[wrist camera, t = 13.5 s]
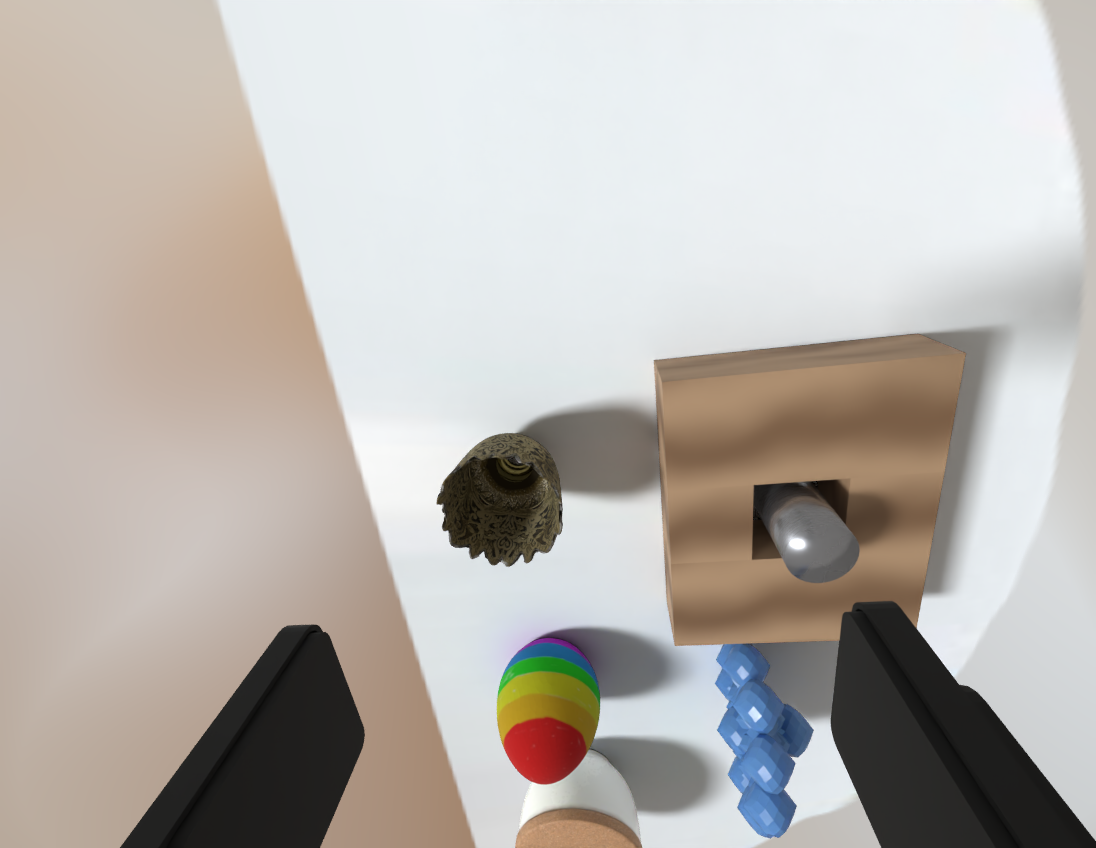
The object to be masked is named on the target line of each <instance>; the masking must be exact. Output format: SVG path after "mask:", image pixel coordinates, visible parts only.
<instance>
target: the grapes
mask: <svg viewBox="0 0 1096 848" xmlns="http://www.w3.org/2000/svg"><path fill="white" fill-rule="evenodd" d="M716 660H717V662H718V663H719V664H720V665H721V667H722V670H721V672H720V674H719V676H718V678H717V681H716V683H715V684H716V685H717V687H718V688H719V689H720V691H721V692H722V693H723V695H724V696H725V697H726V698H727V699H728V700H729V703H728V705H727V708H728V710H727V711H726V713H725V714H724V716H723V719H722V721H721V723H720V725H719V727H718V729H717V731H718V732H719V733H720V735H721V736H722V737H723V739H724V740H725V741H726V743H727V744H728V745H729V747H730V748H731V749H732V750H733V752H734V753H735V755H736V757H735V759H734V761H733V764H732V766H731V768H730V771H729V773H728V776H729V777H730V779H731V780H732V781H733V783H734V784H735V786H736V787H737V788H738V790H739V791H740V792H741V793H742V794H743V795H742V797H741V799H740V802H739V805H738V807H737V808H738V809H739V811H740V812H741V814H742V815H743V816H744V818H745V819H746V821H747V822H748V823H749V825H750V826H751V827H752V828H753V829H754V830H755V831H756V832H757V833H758V834H759V835H761V836H763V837H767V838H772V837H773V836H774V837H778V838H779V837H780V836H781V835H783V834H784V833H785V832H786V830H787V829H788V827H789V825H790V823H791V820H792V818H793V816H794V813H795V809H796V804H795V803H794V802H793V800H792V799H791V798H790V796H789V795H788V794H787V793H786V791H785V790H784V788H785V787H786V785H787V784H788V782H789V779H790V777H791V775H792V772H793V769H794V766H795V762H794V761H793V760H792V758H791V757H799V756H800V755H801V754H802V753H803V752H804V751H805V750H806V748H807V746H808V744H809V742H810V739H811V737H812V734H813V731H814V730H813V729H812V727H811V726H810V725H809V723H808V722H807V721H806V720H805V719H804V717H803V716H802V715H801V714H800V713H799V712H798V711H796V710H795V709H794V708H792V707H791V706H789V705H788V704H783V703H782V702H781V701H780V699H779V698H778V697H777V695H776V694H775V693H774V692H773V691H772V689H771V688H770V687H768V686H767V685H766V684H764V683H763V682H764V679H765V677H766V675H767V673H768V670H769V668H770V664H769V663H768V662H767V660H766V659H765V658H764V657H763V656H762V654H761V653H760V652H759V651H758V650H757V649H756V648H755V647H753V646H752V645H750V644H749V643H746V644H724V645H723V647H722V649H721V651H720V653H719V655H718V657H717V659H716Z"/></svg>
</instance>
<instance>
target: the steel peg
mask: <svg viewBox="0 0 1096 848" xmlns="http://www.w3.org/2000/svg"><path fill="white" fill-rule="evenodd" d="M753 504H754V506H755V508H756V510H757V512H758V513H759V515H760V517H761V519H762V521H763V523H764V525H765V527H766V529H767V530H768V532H769V534H770V536H771V538H772V540H773V542H774V544H775V546H776V548H777V549H778V551H779V553H780V555H781V557H782V559H783V561H784V563H785V565H786V567H787V568H788V570H789V571H790V573H791V574H792V575H794V576H795V577H796V578H798V579H800V580H802V581H805V582H810V583H825V582H830V581H833V580H836V579H838V578H840V577H842V576H843V575H845V574H846V573H848V572H849V571H850V570H851V569H852V568H853V566H854V565H855V564H856V562H857V560H858V557H859V552H860V548H859V543H858V541H857V539H856V537H855V536H854V535H853V534H852V532H851V531H850V530H849V528H848V527H847V526H846V525H845V523H844V522H843V521H842V519H841V518H840V517H839V516H838V514H837V513H836V512H835V510H834V509H833V508H832V507H831V505H830V504H829V503H828V502H827V500H826V499H825V498H824V496H823V495H822V494H821V493H820V491H819V490H818V489H817V487H816V486H815V485H814V484H813V482H812V481H805V482H791V483H777V484H762V485H754V493H753Z"/></svg>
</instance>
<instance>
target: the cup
mask: <svg viewBox="0 0 1096 848" xmlns="http://www.w3.org/2000/svg"><path fill="white" fill-rule="evenodd" d="M513 457H514V458H515V459H516V461H518V463H522V464H523V465H514V464H512V463H510V462H509V461H508V459H510V458H513ZM437 504H439V505H442V504H443V508H442V511H443V513H444V515H445V517H444V522H443V525H442V529H443V531H449V542H450V544H451V546H453V547H455V548H462V547H467V548H469V554H470V558H471V559H474V558H476V557H479V555H480V554H481V553H482V552H483V551H484V552H485V553H484V554H485V557H486V558H487V559H488V561H489V563H490V564H491V565H497V564H498V563H499V562H501V561H502V563H503V564H505V565H506V566H507V567H510V566H512V565H513V564H514V563H515V562H516V561H517V560H518V559H519V557H520V556H521V555H522V554H523V557H524V562H525V563H526V564H527V563H529V562H530V561H531V560H532V559H533V556H534V554H535V552H541V553H548V552H549V551H550V550H551V548H552V546H553V545H554V542H555V540H556V537H557V535H560V534H561V531H562V526H563V523H562V510H563V508H562V497H561V487H560V480H559V475H558V471H557V468H556V465H555V463H554V461H553V459H552V457H551V455H550V454H549V453H548V451H547V450H546V449H545V448H544V447H543V446H542V445H540V444H539V443H538V442H536V441H535V440H533V439H531V438H529V437H527V436H524V435H520V434H514V433H505V434H498V435H494V436H491V437H489V438H487V439H485V440H483V441H482V442H480V443H479V444H477V445H476V446H475V447H474V448H473V449H471V450H470V451H469V453H468V454H467V455H466V456H465V457H464V458H463V459H462V460H461V462H460V463H459V464H458V465H457V466H456V468H455V469H454V470H453V471H452V472H451V473H450V474H449V475H448V476H447V478H446V479H445V481H444V482H443V484H442V487H441V492H440V494H439V495H438V498H437Z"/></svg>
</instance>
